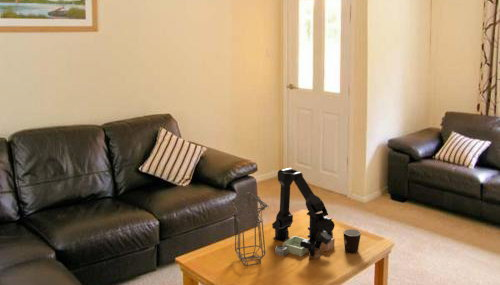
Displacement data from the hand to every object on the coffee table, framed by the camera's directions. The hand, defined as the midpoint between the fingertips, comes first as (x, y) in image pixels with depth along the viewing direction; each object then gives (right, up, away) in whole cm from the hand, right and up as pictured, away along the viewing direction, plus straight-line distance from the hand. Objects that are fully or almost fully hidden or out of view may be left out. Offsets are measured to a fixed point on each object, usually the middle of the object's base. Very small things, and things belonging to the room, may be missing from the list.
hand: (314, 254), depth 249 cm
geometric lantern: (-32, -2, -3) cm, 32 cm away
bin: (-8, +1, +8) cm, 11 cm away
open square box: (+6, +2, +10) cm, 12 cm away
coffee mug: (+20, +1, +8) cm, 21 cm away
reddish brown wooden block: (-16, 0, +4) cm, 17 cm away
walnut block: (0, -1, 0) cm, 1 cm away
